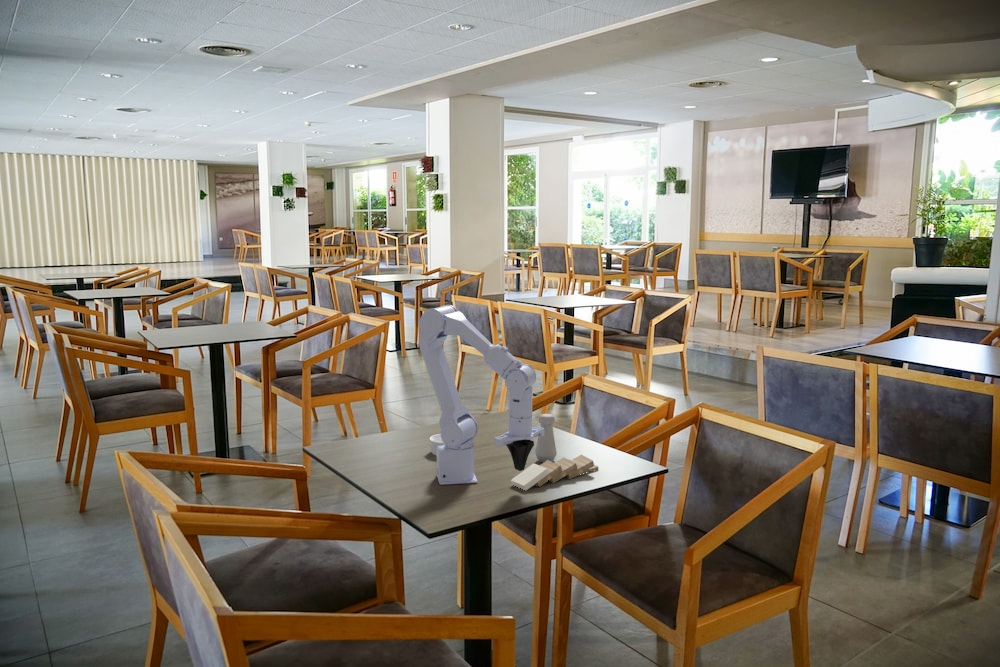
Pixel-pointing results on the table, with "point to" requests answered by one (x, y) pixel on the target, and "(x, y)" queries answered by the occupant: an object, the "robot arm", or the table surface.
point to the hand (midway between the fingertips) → (519, 469)
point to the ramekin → (435, 443)
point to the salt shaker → (546, 439)
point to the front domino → (529, 476)
